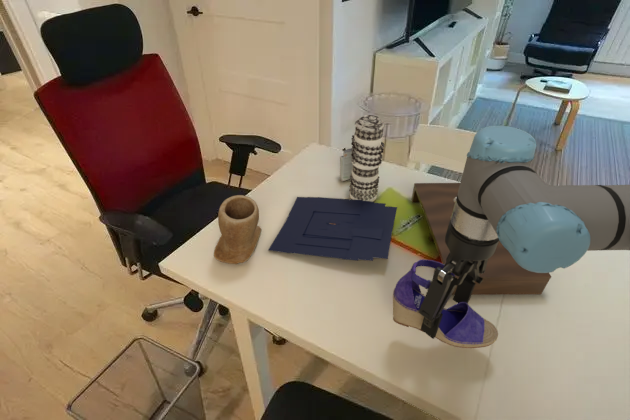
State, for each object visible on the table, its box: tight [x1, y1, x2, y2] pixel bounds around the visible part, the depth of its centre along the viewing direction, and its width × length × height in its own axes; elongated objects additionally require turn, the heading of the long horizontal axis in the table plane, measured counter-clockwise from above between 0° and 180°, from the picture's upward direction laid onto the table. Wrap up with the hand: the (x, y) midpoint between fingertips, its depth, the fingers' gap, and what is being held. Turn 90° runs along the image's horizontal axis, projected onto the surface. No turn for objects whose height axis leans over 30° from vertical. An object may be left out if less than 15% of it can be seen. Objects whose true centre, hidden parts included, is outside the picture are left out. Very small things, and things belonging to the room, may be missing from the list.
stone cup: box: [213, 194, 262, 265], centre depth 92 cm, size 15×12×15 cm
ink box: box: [339, 147, 353, 182], centre depth 119 cm, size 12×2×12 cm, turn 115°
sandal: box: [392, 258, 499, 349], centre depth 67 cm, size 8×20×15 cm, turn 69°
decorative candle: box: [348, 114, 386, 202], centre depth 106 cm, size 9×9×25 cm
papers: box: [268, 196, 398, 262], centre depth 100 cm, size 24×30×4 cm
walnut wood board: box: [411, 182, 552, 296], centre depth 96 cm, size 36×22×6 cm, turn 0°
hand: (444, 317), depth 70 cm, fingers closed on sandal, 10 cm apart
